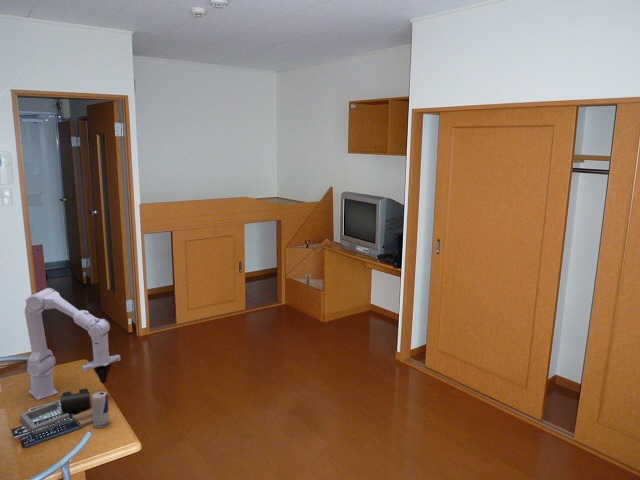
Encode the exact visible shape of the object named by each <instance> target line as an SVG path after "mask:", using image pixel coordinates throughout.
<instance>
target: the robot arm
mask: <svg viewBox="0 0 640 480" xmlns="http://www.w3.org/2000/svg"><path fill="white" fill-rule="evenodd" d="M50 309H52V310H53V309H56V310H58V311H60V312H62V313H64V315H65V314H66V315H67V316H68V317H70V318H73V323H74V324H76V325H77V326H80V327H81V328H83V329H84V330H86V331H87V333H88V335H89V337H90V338H91V341H92V342H91V343H92V355H93V360H92V361H89V362H88V363H86V364H84V365H82V366H81V368H82V372H84V373H86V372H88V371H89V370H94V371H95V372H96V374H97V376H98V378H99V381H100V383H102V384H106V383H107V379H108V375H109V372H110V370H111V369H112V366H111V364H112V363H114V362H120V361H122V360H121V355H120V354H115V355H110V349H109V346H110V345H109V335H108V332H109V331H110V329H111V325H110V322H109V321H108V320H107V319H105V318H99V317H96V316H94V315H93V314H91V313H90V311H88V310H85V309H80V310H79V309H78V308H77V307H75V306H74V305H73V304H71V303H69V302H68V301H67V300H66V299H65V298H63V297H62V296H61V295H60V292H58V291H56V290H55V289H54V288H51V287H46V288H44V289H43V290H41V291H38V292H35V293H34V294H31V295H30V296H29V297H27V298H26V299H25V308H24V316H25V317H24V318H25V321H26V327H27V332H28V333H27V334H28V338H29V344H30V349H31V350H30V351H31V354H30V355H29V357H28V359H27V367H26V370H27V373H28V375H29V376H30V388H31V389H29V391H28V392H29V394H30V395H32V397H34V398H35V400H37V401H38V400H41V399H44V398H45V399H46V398H47V397H50V396H53V395H56V394H59V391H58V390H57V389H56V388H55V386H54V374H53V373H54V372H53V370H54V367H55V366H56V358H55V356H54V355H53V354H54V353H53V351H52V350H51V349H49V348H48V345H47V339H46V334H45V328H44V322H43V316H42V312H43V311H44V310H50Z"/></svg>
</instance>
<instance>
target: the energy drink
mask: <svg viewBox="0 0 640 480" xmlns="http://www.w3.org/2000/svg"><path fill="white" fill-rule="evenodd" d="M91 409H92V411H93V423H92V424H93V427H94V428H98V429H102V428H105V427H107V426H108V425H109V423H110V413H109V412H110V411H109V409H110V408H109V396H108V393H107V391H104V390H100V391H95V392H94V393H93V394H92V395H91Z"/></svg>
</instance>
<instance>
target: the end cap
mask: <svg viewBox="0 0 640 480" xmlns="http://www.w3.org/2000/svg"><path fill="white" fill-rule="evenodd" d="M90 395H91V394H90V391H89V389H88V388H82V389H78V393H72V391H65V392H62V394H61V395H60V396H59V397H60V409H61V412H62V413H64V414H65V413H70V412H73V411H78V410H83V409H90V407H91V396H90Z"/></svg>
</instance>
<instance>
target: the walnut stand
mask: <svg viewBox="0 0 640 480" xmlns="http://www.w3.org/2000/svg"><path fill="white" fill-rule="evenodd" d="M77 418H78V419H77ZM71 419H72V420H73V421H74V422H75V423H76V424H77V425H78V426H79V427H80V428H85V427H87V426H89V425H91V424H93V411H92V408H88V409H86V410H85V411H81V412H78V413H77V414H74V415H71ZM75 419H77V421H78V420H79V421H78V422H79V423H80V424H79V423H78V422H77V421H76V420H75Z"/></svg>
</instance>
